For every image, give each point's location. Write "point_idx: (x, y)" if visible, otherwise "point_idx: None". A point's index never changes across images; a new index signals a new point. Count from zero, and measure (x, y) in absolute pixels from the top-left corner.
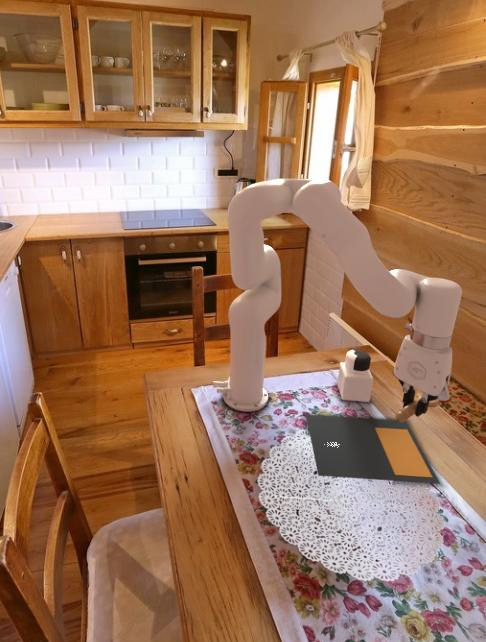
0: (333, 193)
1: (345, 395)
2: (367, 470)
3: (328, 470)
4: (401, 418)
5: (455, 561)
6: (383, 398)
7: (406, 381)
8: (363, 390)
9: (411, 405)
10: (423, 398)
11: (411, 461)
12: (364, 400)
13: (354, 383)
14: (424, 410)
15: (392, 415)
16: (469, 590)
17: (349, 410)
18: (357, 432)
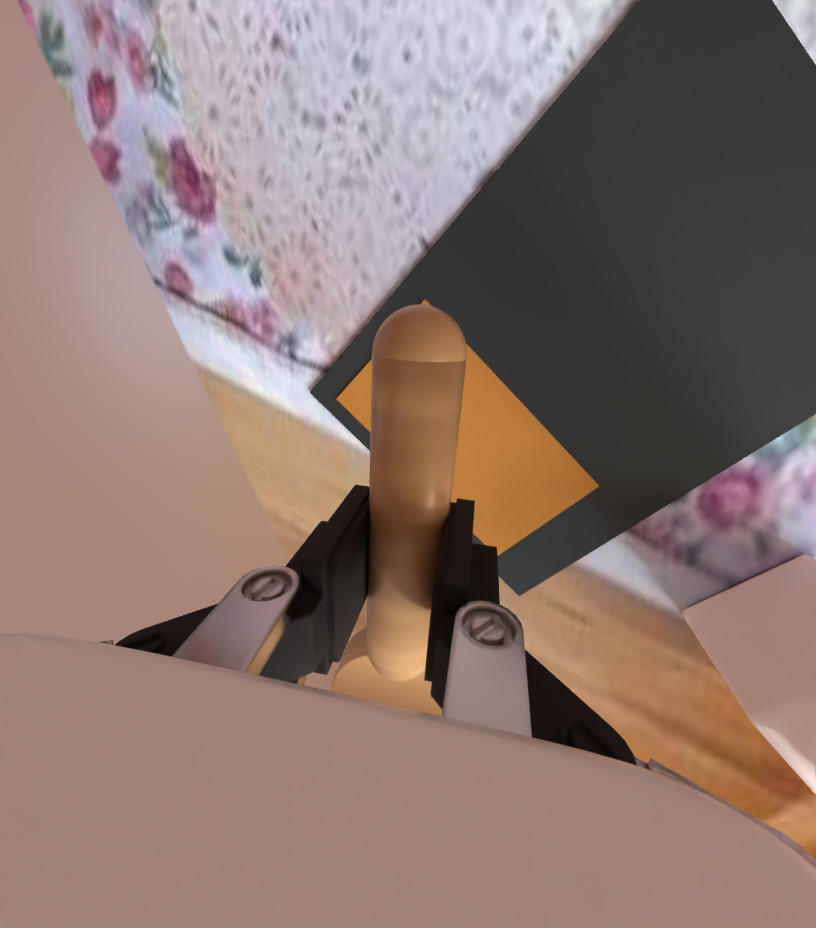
0: None
1: (812, 575)
2: (517, 218)
3: (676, 19)
4: (395, 312)
5: (129, 103)
6: (637, 659)
7: (448, 754)
8: (749, 639)
9: (402, 523)
10: (274, 603)
11: None
12: (705, 604)
13: None
14: (313, 537)
15: (570, 594)
16: (55, 27)
17: (742, 512)
18: (652, 404)
